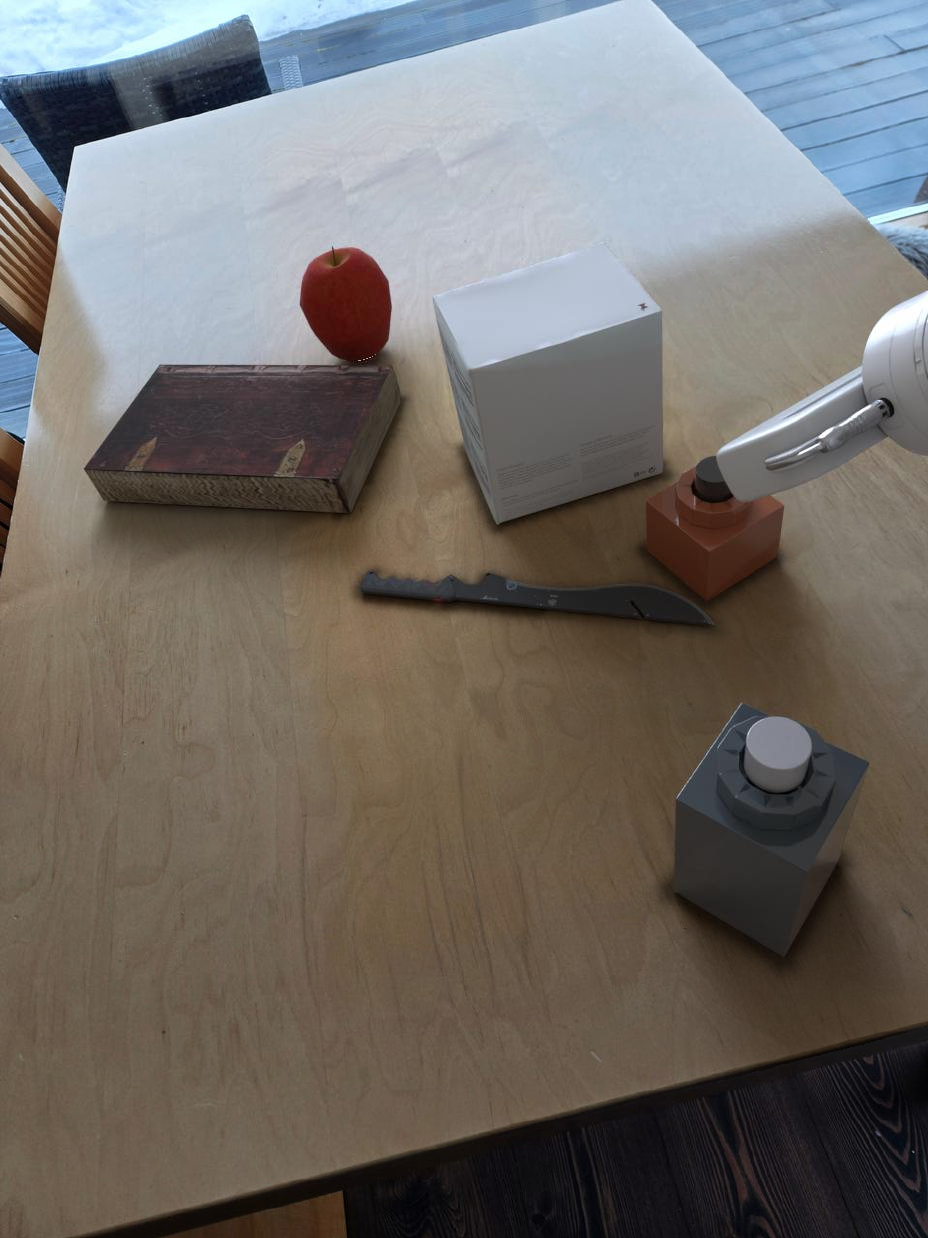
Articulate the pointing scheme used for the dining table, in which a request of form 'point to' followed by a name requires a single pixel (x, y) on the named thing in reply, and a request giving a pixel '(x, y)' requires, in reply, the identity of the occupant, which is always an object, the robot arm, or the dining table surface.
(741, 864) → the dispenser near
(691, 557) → the button base
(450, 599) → the knife
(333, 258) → the apple
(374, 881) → the dining table surface
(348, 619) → the dining table surface
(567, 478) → the supplement box
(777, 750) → the cylinder
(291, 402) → the book
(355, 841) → the dining table surface
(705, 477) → the dark grey cylinder
